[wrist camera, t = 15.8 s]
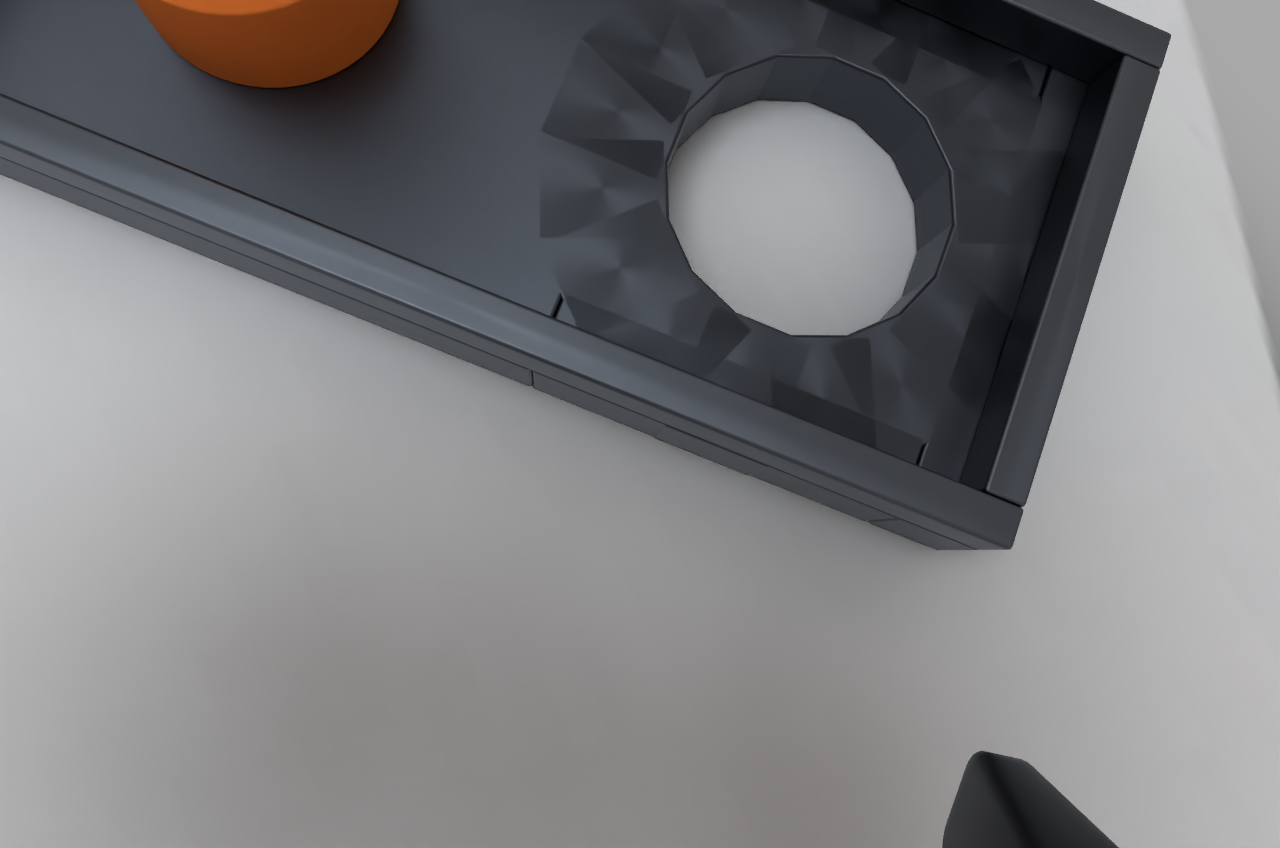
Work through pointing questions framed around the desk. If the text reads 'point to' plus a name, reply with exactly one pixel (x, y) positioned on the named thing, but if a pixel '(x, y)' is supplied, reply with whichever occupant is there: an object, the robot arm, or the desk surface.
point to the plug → (270, 36)
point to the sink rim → (964, 511)
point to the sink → (611, 181)
